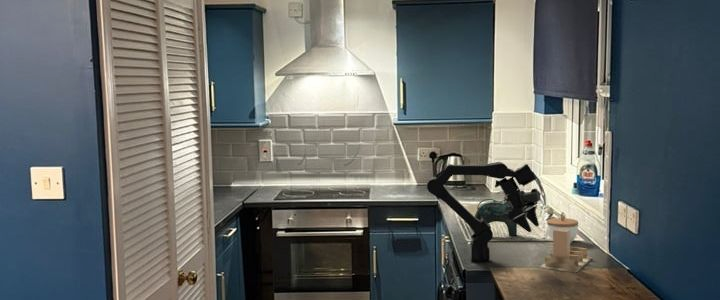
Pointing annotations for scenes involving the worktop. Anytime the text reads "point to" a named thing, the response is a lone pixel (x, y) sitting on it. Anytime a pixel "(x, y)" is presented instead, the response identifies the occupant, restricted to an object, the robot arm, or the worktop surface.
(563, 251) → the tan rectangular block
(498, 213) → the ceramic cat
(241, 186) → the worktop surface
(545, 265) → the drying rack
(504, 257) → the worktop surface
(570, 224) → the lidded bowl
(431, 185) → the robot arm
